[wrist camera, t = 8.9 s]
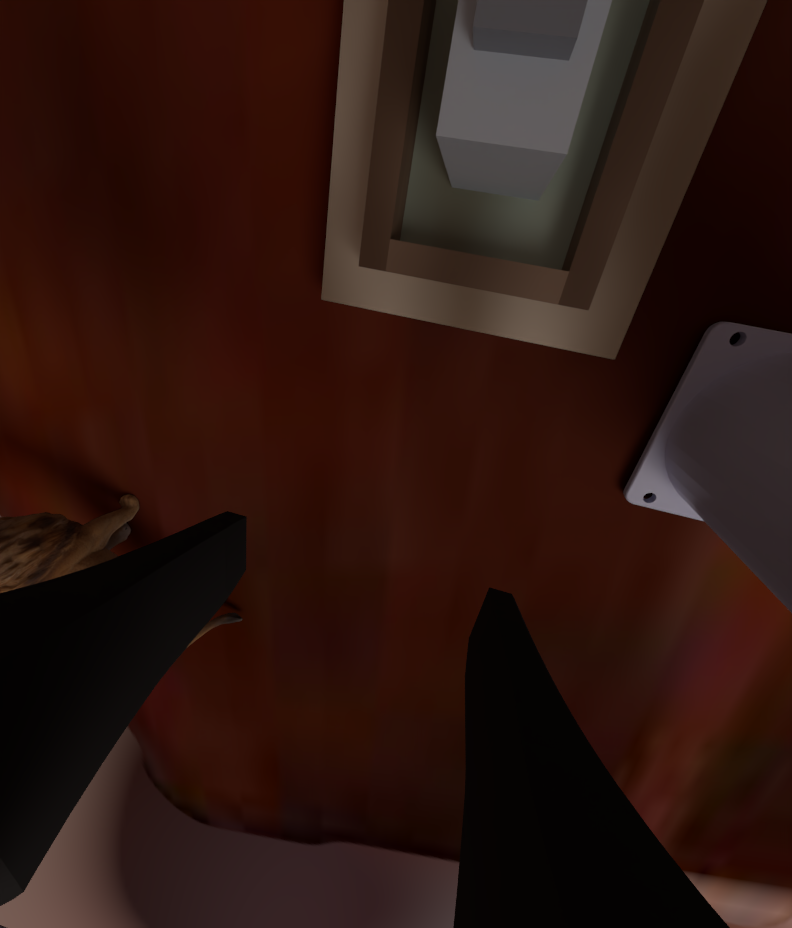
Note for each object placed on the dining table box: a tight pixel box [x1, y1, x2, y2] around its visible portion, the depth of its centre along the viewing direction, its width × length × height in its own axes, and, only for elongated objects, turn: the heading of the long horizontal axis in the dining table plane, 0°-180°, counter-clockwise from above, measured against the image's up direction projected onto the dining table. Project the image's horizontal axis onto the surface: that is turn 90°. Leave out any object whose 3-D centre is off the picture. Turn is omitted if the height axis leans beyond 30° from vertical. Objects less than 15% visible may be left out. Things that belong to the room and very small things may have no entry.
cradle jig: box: [321, 0, 767, 360], centre depth 11 cm, size 12×18×3 cm, turn 170°
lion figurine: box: [0, 494, 242, 647], centre depth 22 cm, size 15×5×9 cm, turn 49°
